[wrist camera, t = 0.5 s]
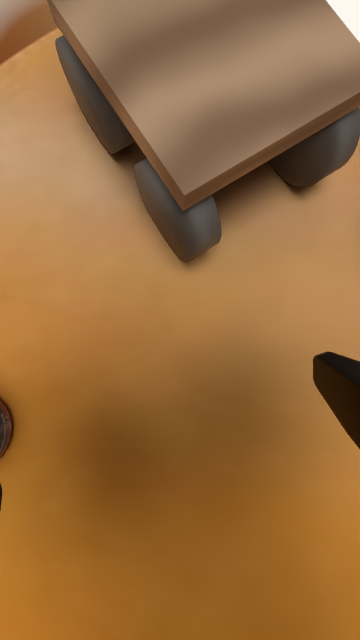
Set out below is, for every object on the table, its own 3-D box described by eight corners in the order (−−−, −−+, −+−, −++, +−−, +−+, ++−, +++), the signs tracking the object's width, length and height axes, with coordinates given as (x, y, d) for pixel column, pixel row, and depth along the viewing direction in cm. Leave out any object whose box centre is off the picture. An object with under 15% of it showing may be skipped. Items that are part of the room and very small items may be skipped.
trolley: (322, 189, 25) (645, -170, 8) (187, 273, 23) (230, 55, 7) (209, 36, 26) (278, -533, 9) (76, 106, 25) (-115, -410, 8)
